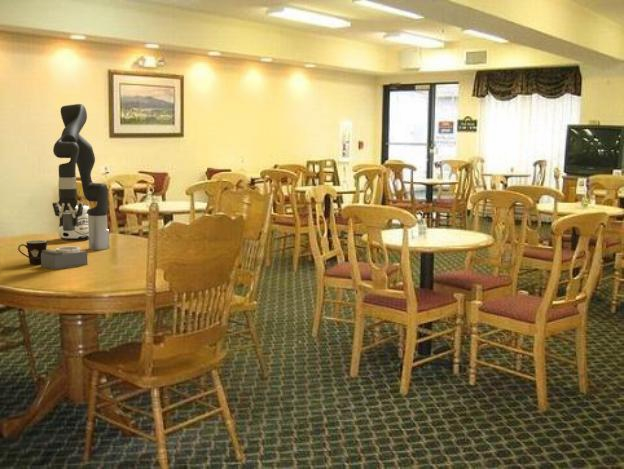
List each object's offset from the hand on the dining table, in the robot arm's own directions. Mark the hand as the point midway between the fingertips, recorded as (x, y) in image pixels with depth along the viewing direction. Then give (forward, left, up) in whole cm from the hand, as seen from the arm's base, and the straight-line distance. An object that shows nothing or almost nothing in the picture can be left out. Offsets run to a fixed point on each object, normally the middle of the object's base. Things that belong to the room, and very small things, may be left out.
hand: (68, 225), depth 315 cm
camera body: (+2, -1, -18) cm, 18 cm away
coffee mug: (+8, -15, -18) cm, 25 cm away
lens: (0, 0, -3) cm, 3 cm away
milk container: (-45, -63, -18) cm, 79 cm away
